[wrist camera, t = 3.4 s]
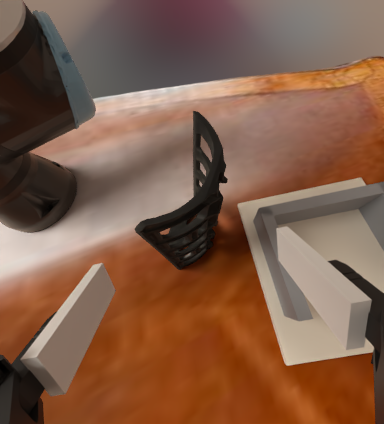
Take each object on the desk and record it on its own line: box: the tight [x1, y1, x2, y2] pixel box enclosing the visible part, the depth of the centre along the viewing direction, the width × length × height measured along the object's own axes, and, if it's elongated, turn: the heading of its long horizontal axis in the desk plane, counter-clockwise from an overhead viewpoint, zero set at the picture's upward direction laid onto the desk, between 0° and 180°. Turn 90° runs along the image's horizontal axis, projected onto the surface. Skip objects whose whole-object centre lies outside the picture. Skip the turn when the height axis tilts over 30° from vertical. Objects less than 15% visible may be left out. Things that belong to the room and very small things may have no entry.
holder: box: [135, 111, 227, 270], centre depth 22 cm, size 11×8×20 cm
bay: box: [238, 178, 384, 366], centre depth 24 cm, size 22×20×6 cm
